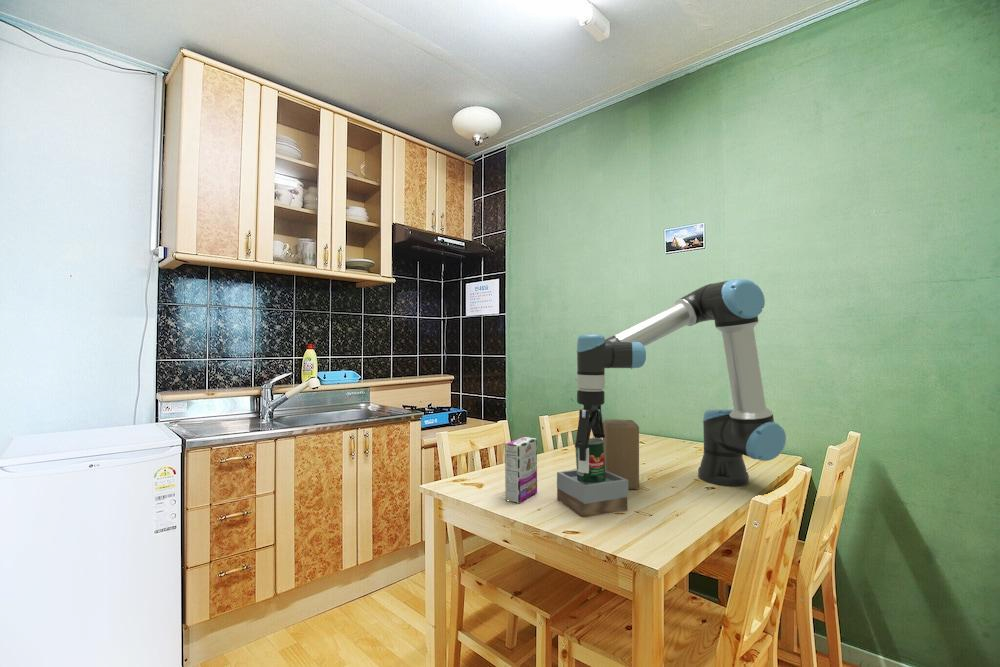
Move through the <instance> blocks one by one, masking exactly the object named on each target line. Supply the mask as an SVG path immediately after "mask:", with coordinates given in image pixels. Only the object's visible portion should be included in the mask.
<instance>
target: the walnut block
mask: <svg viewBox="0 0 1000 667" xmlns="http://www.w3.org/2000/svg"><path fill="white" fill-rule="evenodd" d="M556 488H557V487H556ZM556 499H557V501H559V502H560V501H561V502H560V503H562V504H563V505H564V504H565V505H564V506H565V507H567V508H568V507H569V508H568V509H570V510H571V511H572V512H574V513H575V514H576V515H578V516H579V517H580V518H584V517H592V516H599V515H607V514H614V512H615V513H619V512H621V511H622V512H627V511H628V497H624V498H618V499H612V500H606V501H600V502H593V503H587V504H584V503H582V502H580V501H579V500H577V499H575V498H574V497H572V496H570V495H568V494H567V493H565V492H563V491H562V490H560V489H558V488H557V489H556ZM622 512H621V513H622Z"/></svg>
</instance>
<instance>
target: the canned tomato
mask: <svg viewBox="0 0 1000 667" xmlns="http://www.w3.org/2000/svg"><path fill="white" fill-rule="evenodd" d="M594 438H595V437H594ZM594 438H593V437H591V438H589V443H588V448H589V473H581V472H578V448H576V447H575V446H574V447H575V448H574V449H575V465H576V470H577V481H579V482H581V483H584V484H595V483H602V482H605V481H606V478H605V461H604V445H603V442H604V441H603V439H602V440H601V439H594ZM575 444H576V439H575V440H574V445H575Z"/></svg>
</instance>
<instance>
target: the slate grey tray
mask: <svg viewBox="0 0 1000 667" xmlns="http://www.w3.org/2000/svg"><path fill="white" fill-rule="evenodd" d="M605 478H606V481H605V482H602V483H595V484H584V483H581V482H579V481H577V469H571V470H563V471H562V470H561V471H557V472H556V488H558V489H560V490H562V491H563V492H565V493H567V494H568V495H570V496H572V497H574V498H575V499H577V500H579V501H580V502H582V503H584V504H587V503H593V502H600V501H606V500H612V499H618V498H624V497H627V498H629V489H628V480H627V479H625V478H622V477H620V476H618V475H615V474H613V473H611V472H608V471H606V470H605Z"/></svg>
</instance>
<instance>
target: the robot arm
mask: <svg viewBox="0 0 1000 667" xmlns="http://www.w3.org/2000/svg"><path fill="white" fill-rule="evenodd" d="M765 301H766V300H765V295H764V292H763V291H762V289H761V287H760V286H759V285H758V284H756V283H755V282H754V281H752V280H749V279H747V278H739V279H730V280H725V281H719V282H715V283H708V284H705V285H703V286H701V287H699V288H697V289H694V290H693V291H691V292H690V293H688V294H686V295H684V296H682V297H681V298H678V299H677V300H675V301H674V304H673V305H672V306H669V307H667V308H665V309H664V310H661V311H659V312H658V313H655V314H653V315H651V316H650V317H648V318H646V319H643V320H641V321H639V322H637V323H635V324H633V325H632V326H630V327H627V328H625V329H623V330H622V331H620V332H617V333H616V334H613V335H612V336H609V337H608V338H606V339H605V335H603V334H581V335H578V337H577V343H576V360H577V361H576V364H577V365H576V366H577V372H576V376H575V381H577V383H576V385H577V389H578V390H577V391H576V402H577V403H578V404H579V405H582V406H583V408H582V409H579V411H578V412H579V413H578V414H579V416H578V422H577V423H578V425H577V431H576V438H575V440H576V444H575V443H574V447H576V448H578V472H581V473H589V448H588V443H589V438H590V437H591V434H592V436H593V437H592V438H594V439H601V440H603V438H605V434H604V429H603V421H604V420H603V415H602V405H604V404H605V395H606V394H605V391H604V389H605V386H606V385H605V384H606V383H605V379H606V378H605V375H606V374H605V373H606V372H605V369H631V370H632V369H639V368H642V367H643V366H644V365H645V363H646V360H647V351H646V350H647V349H646V348H645V347H646V346H648V345H650V344H652V343H655V342H656V341H659V340H660V339H662V338H664V337H666V336H668V335H670V334H671V333H674V332H677V331H678V330H679V329H682V328H684V327H686V326H687V327H692V326H694V325H696V324H699V323H702V322H703V323H704V322H707V321H714V326H715V329H716V330H718V331H720V332H721V337H722V340H723V347H724V348H723V349H724V354H725V360H726V368H727V374H728V380H729V386H730V391H731V392H730V393H731V400H732V405H733V409H707V410H705V412H704V413H703V420H702V423H703V455H702V458H701V461H700V466H699V467H698V469H697V471H698V472H697V477H698V478H699V479H700V480H702V481H704V482H707V483H711V484H716V485H722V486H730V487H732V486H733V487H738V486H739V487H740V486H746V485H748V484H749V482H750V475H749V473H748V471H747V467H746V464H745V461H744V457H743V456H746V457H748V458H750V459H752V460H759V461H763V462H768V461H772V460H774V459H776V458H778V457H779V455H780V454H781V453H782V451H783V450H784V449H785V446H786V443H787V442H786V441H787V436H786V432H785V429H784V428H783V427H782V426H781V425H780V424H779V423H776V422H775V419H774V413H773V411H772V410H771V409H770V408H768V407H767V405H766V398H765V392H764V386H763V385H764V384H763V381H762V380H763V379H762V375H761V367H760V361H759V360H760V359H759V353H758V349H757V341H756V335H755V327H756V326H757V324H758V323H759V315H760V314H762V312H763V308H764V307H765ZM576 448H575V449H576Z"/></svg>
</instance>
